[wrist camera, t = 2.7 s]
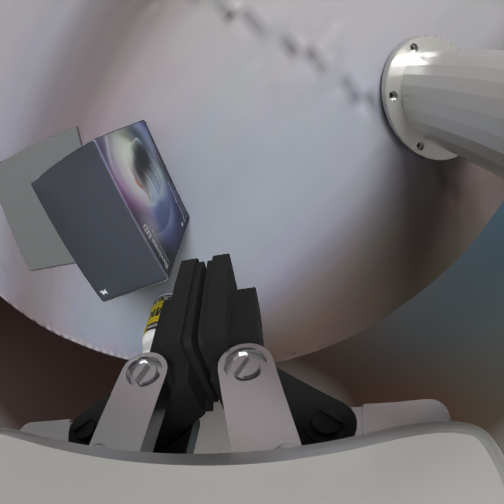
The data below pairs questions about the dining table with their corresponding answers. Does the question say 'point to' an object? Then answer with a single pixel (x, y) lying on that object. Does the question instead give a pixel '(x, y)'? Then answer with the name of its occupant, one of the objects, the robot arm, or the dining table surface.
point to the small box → (116, 211)
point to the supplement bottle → (153, 322)
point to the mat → (35, 200)
